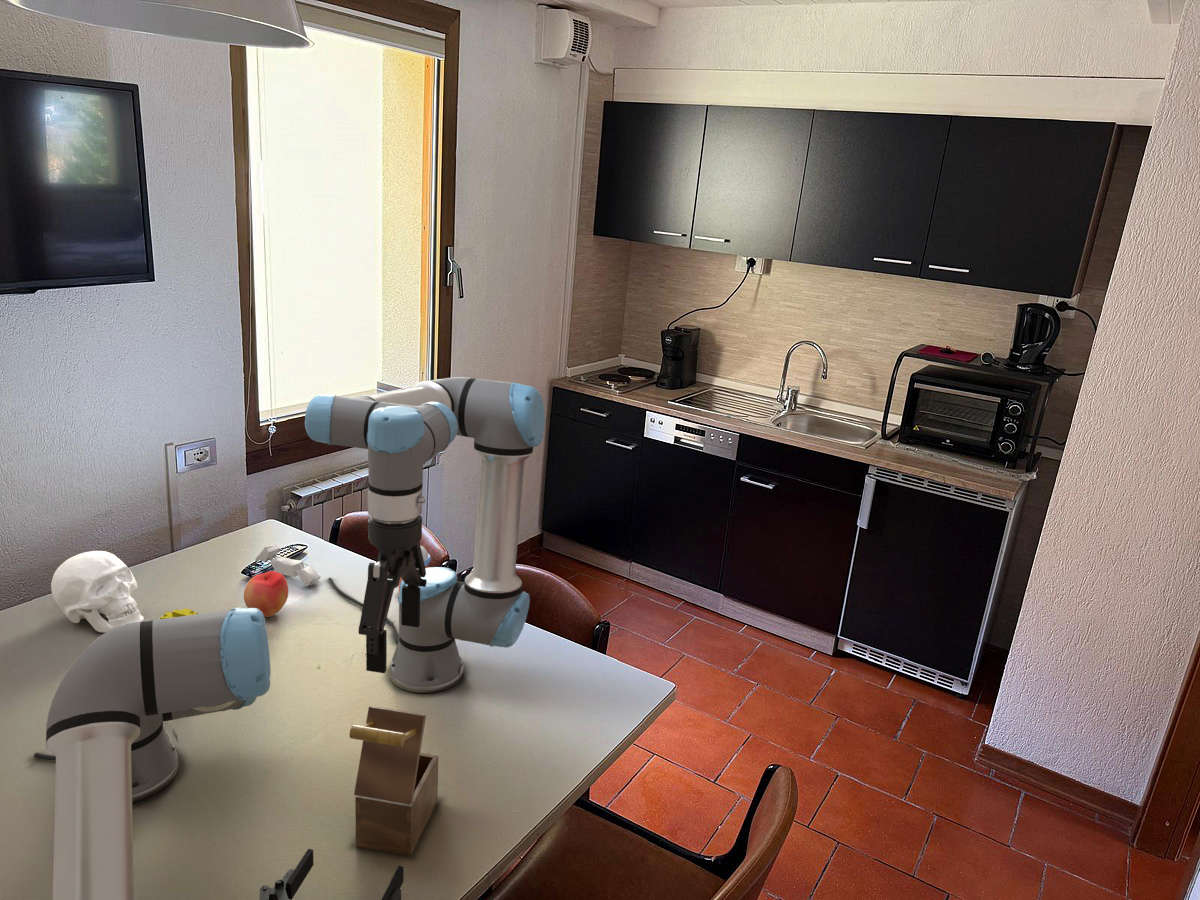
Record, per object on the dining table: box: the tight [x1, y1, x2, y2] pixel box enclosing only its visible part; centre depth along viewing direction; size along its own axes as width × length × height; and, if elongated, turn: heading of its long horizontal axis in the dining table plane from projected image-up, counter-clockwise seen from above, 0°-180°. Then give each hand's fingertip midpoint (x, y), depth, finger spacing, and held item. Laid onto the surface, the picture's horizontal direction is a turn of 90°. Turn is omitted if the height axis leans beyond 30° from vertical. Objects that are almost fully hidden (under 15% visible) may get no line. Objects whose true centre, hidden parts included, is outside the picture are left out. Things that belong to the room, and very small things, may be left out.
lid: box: [349, 705, 427, 805], centre depth 128 cm, size 13×9×9 cm
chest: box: [354, 752, 439, 857], centre depth 139 cm, size 13×9×9 cm
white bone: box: [254, 544, 322, 587], centre depth 219 cm, size 20×4×7 cm, turn 62°
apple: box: [243, 570, 289, 618], centre depth 199 cm, size 10×10×10 cm
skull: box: [50, 550, 145, 634], centre depth 191 cm, size 13×22×16 cm, turn 73°
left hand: (355, 864), depth 123 cm, fingers open, 13 cm apart
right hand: (394, 647), depth 128 cm, fingers open, 13 cm apart
